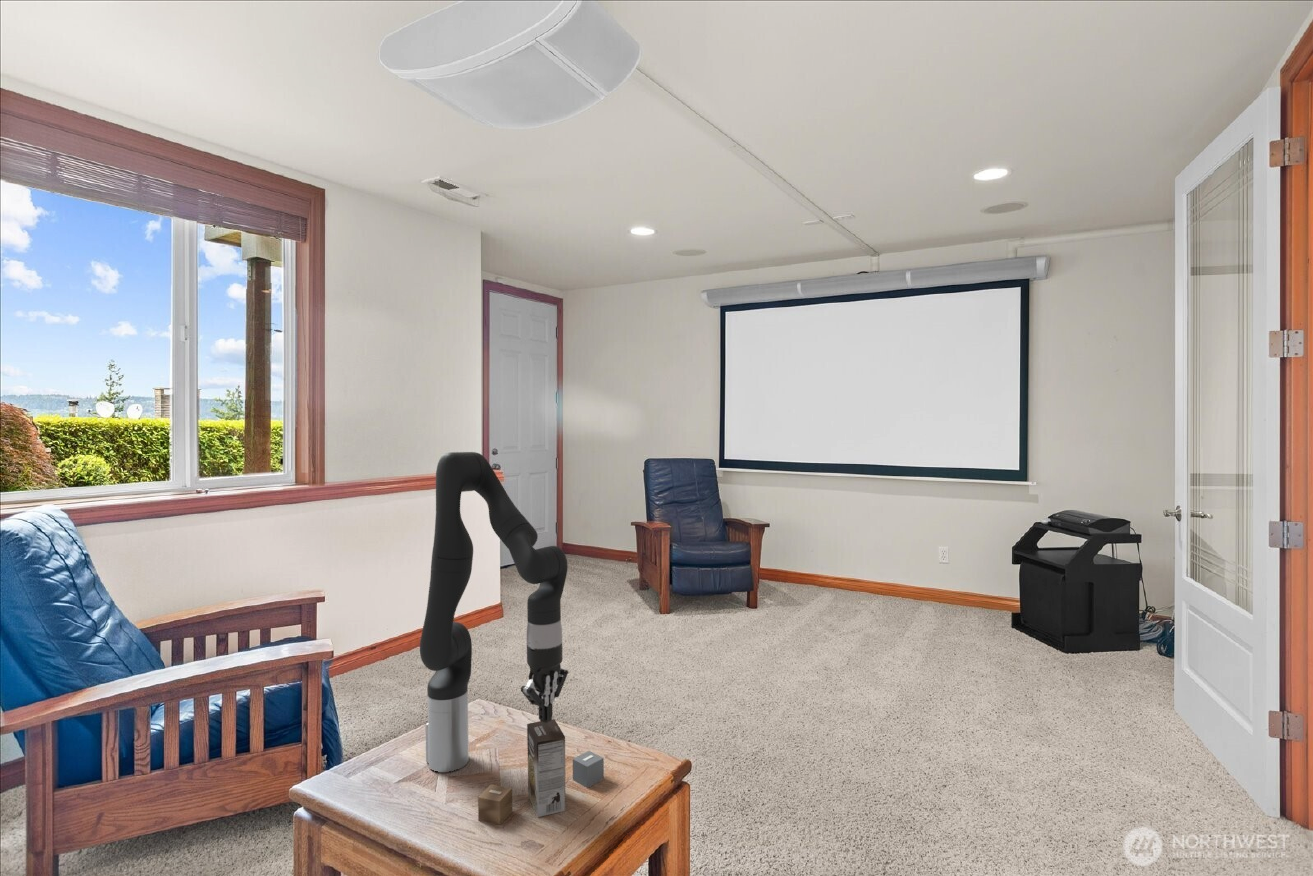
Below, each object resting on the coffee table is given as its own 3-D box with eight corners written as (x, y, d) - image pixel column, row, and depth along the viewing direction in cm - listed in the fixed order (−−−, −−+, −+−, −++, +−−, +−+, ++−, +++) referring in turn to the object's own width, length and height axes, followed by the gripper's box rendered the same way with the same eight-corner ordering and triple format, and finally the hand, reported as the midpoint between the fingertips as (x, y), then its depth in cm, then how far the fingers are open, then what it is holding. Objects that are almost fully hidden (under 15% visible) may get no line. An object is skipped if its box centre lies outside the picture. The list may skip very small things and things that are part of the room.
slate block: (572, 780, 150) (572, 758, 150) (589, 771, 154) (588, 750, 154) (587, 788, 147) (587, 766, 147) (603, 779, 151) (603, 757, 150)
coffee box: (526, 795, 144) (526, 723, 144) (555, 788, 147) (555, 717, 146) (536, 818, 136) (535, 742, 135) (566, 811, 138) (565, 735, 138)
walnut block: (478, 821, 135) (478, 796, 135) (491, 807, 140) (491, 783, 140) (499, 825, 134) (499, 800, 134) (512, 811, 139) (512, 787, 138)
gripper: (551, 629, 148) (552, 705, 148) (509, 647, 137) (510, 729, 137) (577, 635, 144) (578, 713, 144) (536, 654, 133) (537, 738, 133)
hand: (545, 720), depth 141 cm, fingers closed
